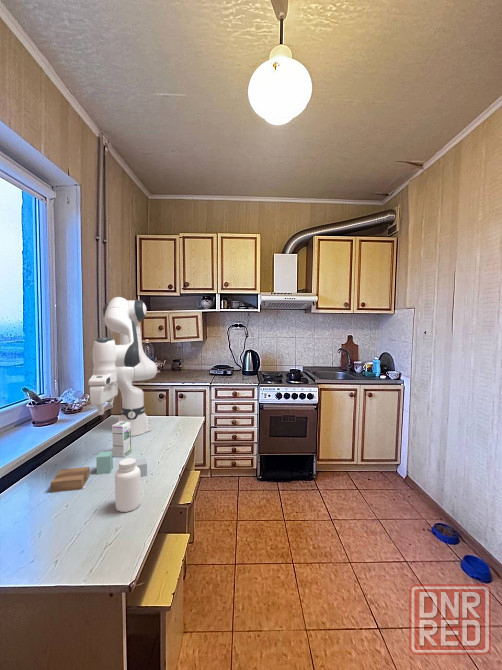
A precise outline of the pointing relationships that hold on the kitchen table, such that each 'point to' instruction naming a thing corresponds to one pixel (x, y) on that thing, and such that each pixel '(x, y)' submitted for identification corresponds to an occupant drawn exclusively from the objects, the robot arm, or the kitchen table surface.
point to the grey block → (142, 467)
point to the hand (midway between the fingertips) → (105, 411)
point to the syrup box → (121, 438)
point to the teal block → (104, 462)
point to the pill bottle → (127, 485)
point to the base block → (70, 479)
